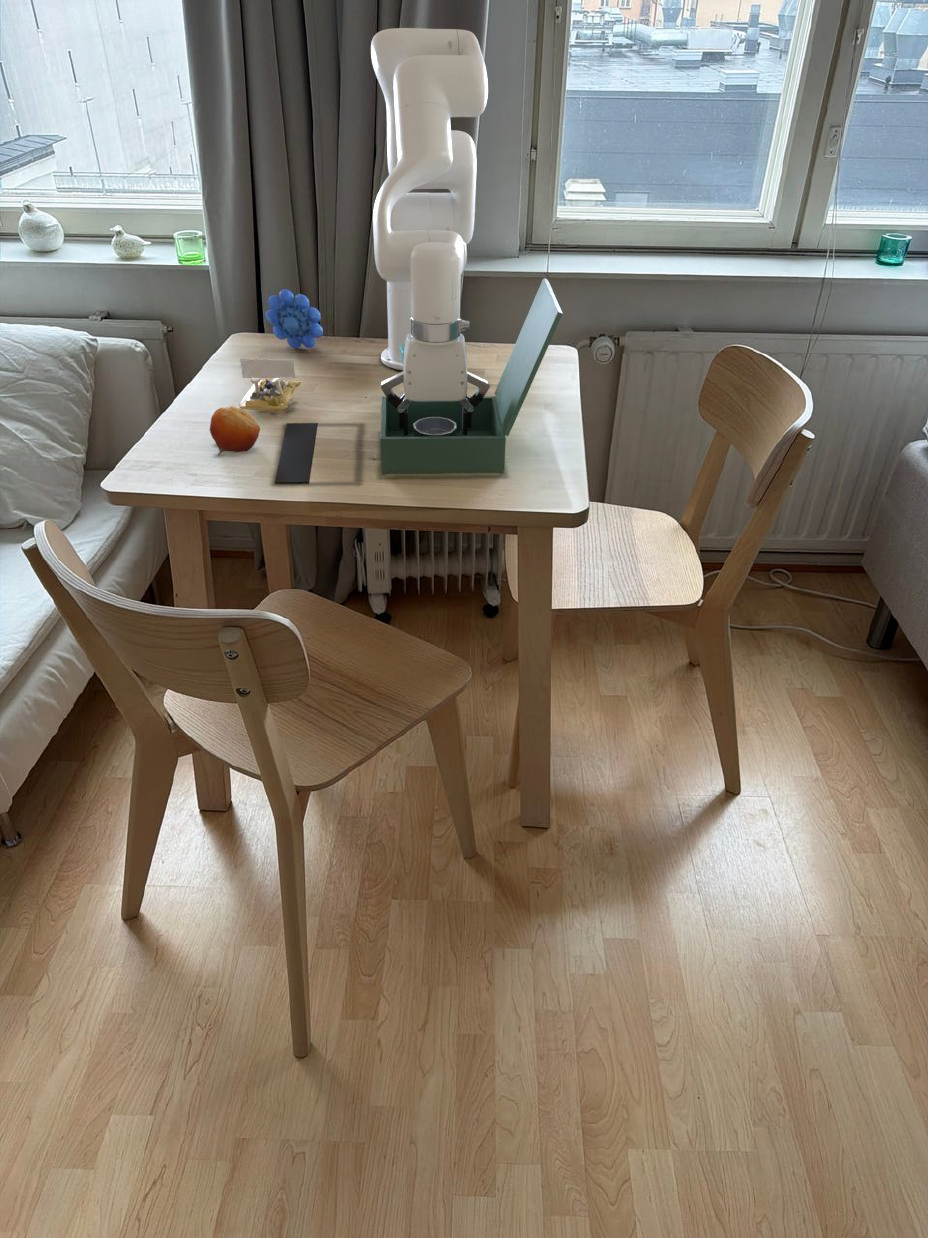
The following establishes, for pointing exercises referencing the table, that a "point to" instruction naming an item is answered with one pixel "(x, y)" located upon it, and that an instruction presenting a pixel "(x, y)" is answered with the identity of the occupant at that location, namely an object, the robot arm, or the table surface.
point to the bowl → (434, 427)
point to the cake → (268, 384)
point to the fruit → (233, 429)
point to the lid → (527, 355)
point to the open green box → (443, 440)
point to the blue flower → (294, 319)
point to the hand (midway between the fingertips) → (435, 432)
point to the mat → (297, 454)
